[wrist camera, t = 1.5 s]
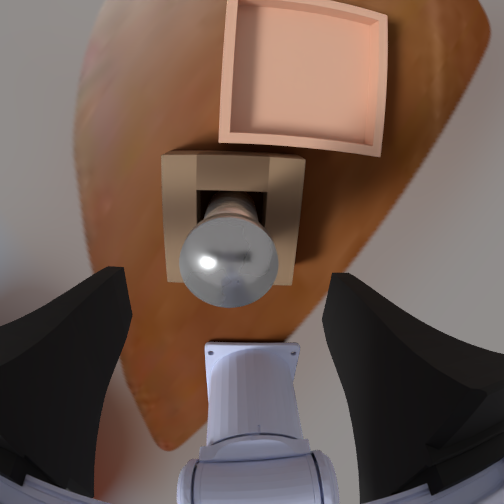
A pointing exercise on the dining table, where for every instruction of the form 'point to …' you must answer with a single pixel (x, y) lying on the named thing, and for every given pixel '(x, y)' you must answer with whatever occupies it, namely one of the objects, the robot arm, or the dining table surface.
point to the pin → (229, 253)
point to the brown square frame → (232, 179)
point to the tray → (304, 75)
